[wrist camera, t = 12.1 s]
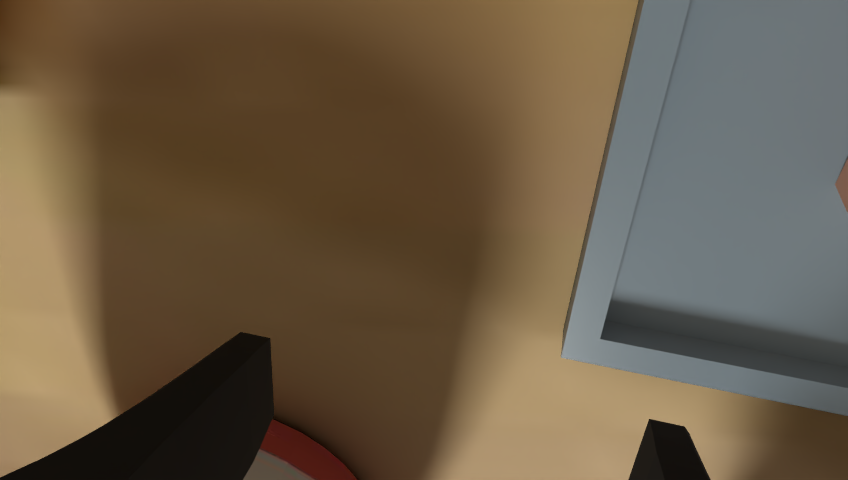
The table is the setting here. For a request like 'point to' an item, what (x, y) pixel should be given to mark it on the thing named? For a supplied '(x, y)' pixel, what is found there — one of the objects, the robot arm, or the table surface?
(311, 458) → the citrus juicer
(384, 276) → the table surface
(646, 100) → the tray
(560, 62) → the table surface
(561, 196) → the table surface
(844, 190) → the long salmon pink stick
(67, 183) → the table surface
